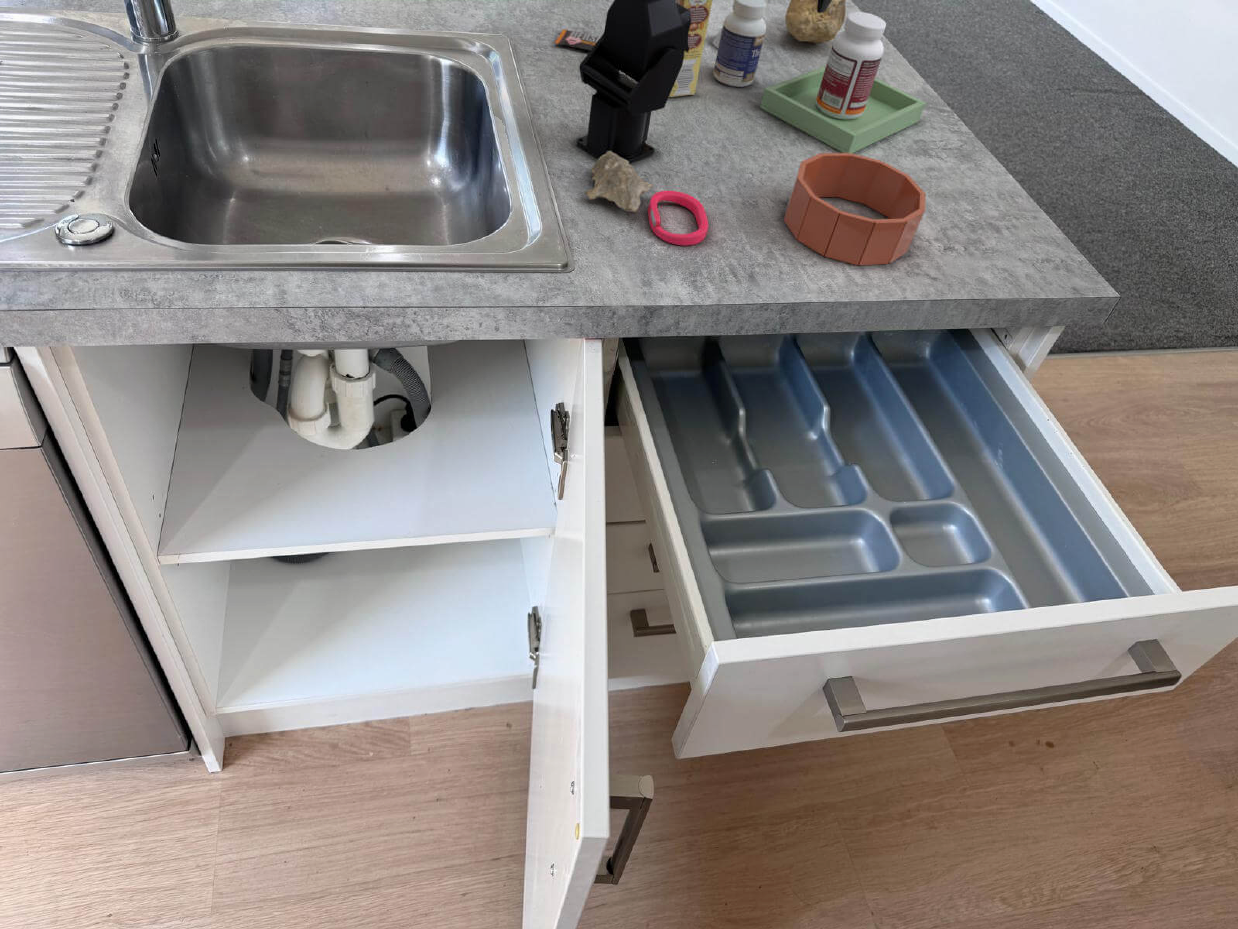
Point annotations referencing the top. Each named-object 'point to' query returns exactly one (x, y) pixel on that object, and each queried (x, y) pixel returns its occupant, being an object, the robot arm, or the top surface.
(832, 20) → the tan rock
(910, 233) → the segmented terracotta ring
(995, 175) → the top surface
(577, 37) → the chocolate bar
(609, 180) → the artifact
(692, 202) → the fitness band
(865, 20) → the pill bottle
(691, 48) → the candy box
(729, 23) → the pill bottle
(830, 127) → the tray
